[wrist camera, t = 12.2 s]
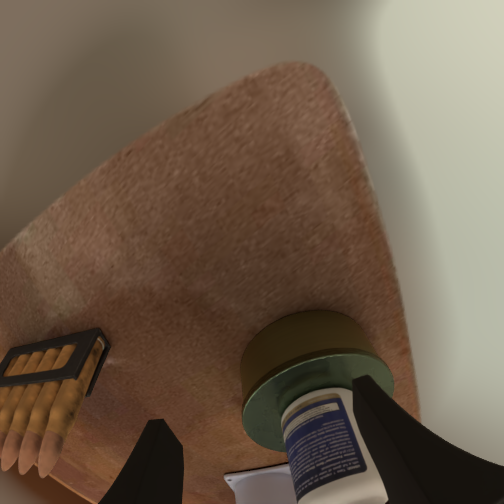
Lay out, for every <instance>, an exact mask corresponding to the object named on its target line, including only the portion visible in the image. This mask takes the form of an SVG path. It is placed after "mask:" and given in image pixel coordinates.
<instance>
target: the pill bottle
mask: <svg viewBox="0 0 504 504" xmlns="http://www.w3.org/2000/svg"><path fill="white" fill-rule="evenodd" d="M281 426H282V433H283V437H284V442H285V447H286V451H287V457H288V461H289V466H290V471H291V476H292V481H293V486H294V491H295V496H296V500H297V504H385V503H386V502H387V501H388V497H387V494H386V490H385V487H384V484H383V482H382V479H381V477H380V475H379V473H378V470H377V468H376V466H375V464H374V462H373V460H372V458H371V456H370V453H369V451H368V449H367V447H366V445H365V443H364V441H363V438H362V436H361V434H360V431H359V429H358V426H357V423H356V420H355V416H354V413H353V396H352V391H350V390H348V389H344V388H326V389H320V390H316V391H313V392H310V393H308V394H306V395H303V396H301V397H300V398H298V399H297V400H295V401H294V402H293V403H292V404H291V405H290V406H289V407H288V408H287V409H286V410H285V412H284V414H283V416H282V420H281Z"/></svg>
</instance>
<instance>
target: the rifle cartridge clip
mask: <svg viewBox="0 0 504 504" xmlns="http://www.w3.org/2000/svg"><path fill="white" fill-rule="evenodd" d="M110 348H111V347H110V345H109V343H108V342H107V340H106V339H105V337H104V335H103V334H102V332H101V330H100V329H99V328H96V329H92V330H88V331H84V332H80V333H75V334H71V335H67V336H63V337H59V338H55V339H51V340H46V341H42V342H38V343H34V344H29V345H25V346H21V347H16V348H12V349H10V350H9V351H8V353H7V354H6V356H5V357H4V359H3V360H2V362H1V363H0V458H1V467H2V471H7V470H8V469H9V468H10V467H11V466H12V465H13V464H14V462H15V461H16V459H17V458H18V456H19V463H18V464H19V473H20V474H21V475H23V474H25V473H26V472H27V471H28V470H29V469H30V467H31V466H32V465H33V463H34V462H35V460H36V458H37V457H38V455H39V464H38V469H39V475H40V477H42V478H44V477H45V476H47V475H48V474H49V473H50V471H51V470H52V468H53V467H54V465H55V464H56V462H57V460H58V458H59V456H60V453H61V451H62V448H63V445H64V443H65V441H66V439H67V436H68V434H69V432H70V430H71V429H72V427H73V426H74V424H75V421H76V419H77V416H78V413H79V410H80V408H81V405H82V402H83V400H84V397H90V395H91V392H92V390H93V388H94V385H95V383H96V380H97V378H98V375H99V373H100V371H101V368H102V366H103V364H104V361H105V359H106V357H107V354H108V352H109V350H110ZM1 456H2V457H1Z"/></svg>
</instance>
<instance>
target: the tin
mask: <svg viewBox="0 0 504 504" xmlns="http://www.w3.org/2000/svg"><path fill="white" fill-rule="evenodd" d="M240 369H241V381H242V392H243V405H242V411H241V413H242V424H243V427H244V430H245V431H246V433H247V435H248V436H249V437H250V438H251V439H252V440H253V441H254V442H256V443H257V444H259V445H261V446H263V447H265V448H268V449H271V450H275V451H279V452H287V451H286V447H285V442H284V437H283V433H282V426H281V420H282V416H283V414H284V412H285V410H286V409H287V408H288V407H289V406H290V405H291V404H292V403H293V402H294V401H295V400H297V399H298V398H300V397H301V396H303V395H306V394H308V393H310V392H313V391H316V390H320V389H326V388H344V389H348V390H350V391H352V379H355V378H358V377H361V376H364V375H367V374H368V375H370V376H371V377H372V378H373V379H374V381H375V382H376V383H377V384H378V385H379V386H380V387H381V388H382V389H383V390H384V391H385V392H386V393H387V394H388V395H389V396H390V397H391V398H392V396H393V392H394V379H393V375H392V373H391V371H390V369H389V367H388V366H387V364H386V363H385V362H384V361H383V360H382V359H381V358H380V357H379V356H378V355H377V353H376V351H375V350H374V348H373V346H372V345H371V343H370V341H369V339H368V338H367V336H366V334H365V333H364V331H363V330H362V328H361V327H360V326H359V324H357V323H356V322H355V321H354V320H352V319H351V318H349V317H347V316H345V315H343V314H340V313H337V312H333V311H325V310H314V311H305V312H300V313H296V314H293V315H289V316H287V317H284V318H282V319H280V320H278V321H276V322H274V323H272V324H270V325H269V326H267V327H266V328H265V329H263V330H262V331H261V332H260V333H259V334H257V335H256V336H255V338H254V339H253V340H252V341H251V342H250V344H249V345H248V347H247V348H246V350H245V352H244V354H243V357H242V360H241V367H240Z"/></svg>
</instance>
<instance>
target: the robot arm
mask: <svg viewBox="0 0 504 504" xmlns="http://www.w3.org/2000/svg"><path fill="white" fill-rule="evenodd" d="M352 396H353V413H354V416H355V420H356V423H357V426H358V429H359V431H360V434H361V436H362V438H363V441H364V443H365V445H366V447H367V449H368V451H369V453H370V456H371V458H372V460H373V462H374V464H375V466H376V468H377V470H378V473H379V475H380V477H381V479H382V482H383V484H384V487H385V490H386V494H387V497H388V500H389V503H390V504H504V466H501V465H498V464H495V463H492V462H489V461H486V460H484V459H481V458H479V457H476V456H474V455H472V454H470V453H468V452H466V451H464V450H462V449H460V448H458V447H456V446H454V445H452V444H451V443H449V442H447V441H445V440H444V439H442V438H441V437H439V436H438V435H436V434H434V433H433V432H432V431H430V430H429V429H427V428H426V427H425V426H423V425H422V424H421V423H419V422H418V421H417V420H416V419H414V418H413V417H412V416H411V415H409V414H408V413H407V412H406V411H405V410H404V409H403V408H402V407H400V406H399V405H398V404H397V403H396V402H395V401H394V400H393V399H392V398H391V397H390V396H389V395H388V394H387V393H386V392H385V391H384V390H383V389H382V388H381V387H380V386H379V385H378V384H377V383H376V382H375V381H374V379H373V378H372V377H371V376H370V375H368V374H367V375H364V376H361V377H358V378H355V379H352ZM183 477H184V458H183V446H182V444H181V443H180V442H179V440H178V439H177V438H176V436H175V435H174V433H173V432H172V431H171V429H170V428H169V426H168V425H167V424H166V422H165V421H164V419H155V420H149V421H148V422H147V424H146V426H145V428H144V430H143V432H142V434H141V436H140V438H139V440H138V442H137V443H136V445H135V447H134V449H133V451H132V453H131V455H130V456H129V458H128V460H127V462H126V463H125V465H124V467H123V469H122V470H121V472H120V473H119V475H118V477H117V478H116V480H115V481H114V483H113V484H112V486H111V487H110V489H109V490H108V491H107V493H106V494H105V495H104V497H103V498H102V499H101V501H100V502H99V503H98V504H182V493H183ZM224 479H225V481H226V482H227V483H228V485H229V486H230V487H231V489H232V490H233V491H234V492H235V499H236V504H297V500H296V496H295V491H294V486H293V481H292V476H291V471H290V466H289V464H284V465H280V466H275V467H269V468H264V469H258V470H252V471H246V472H239V473H232V474H226V475H224Z"/></svg>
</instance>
